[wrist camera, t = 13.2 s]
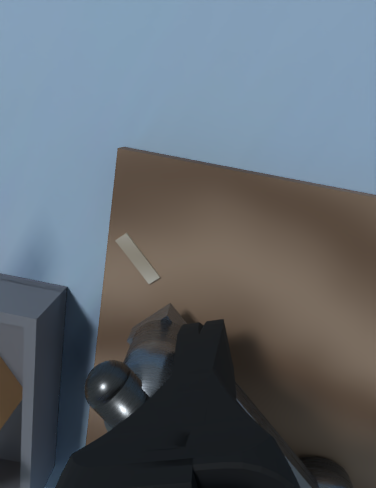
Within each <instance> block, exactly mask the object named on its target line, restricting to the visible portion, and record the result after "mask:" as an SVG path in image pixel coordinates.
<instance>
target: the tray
mask: <svg viewBox="0 0 376 488" xmlns="http://www.w3.org/2000/svg"><path fill="white" fill-rule="evenodd" d="M66 294H67V287H65V286H60V285H55V284H50V283H45V282H40V281H35V280H30V279H25V278H20V277H15V276H10V275H5V274H0V357H1V358H2V359H3V361H4V362H5V364H6V365H7V366H8V368H9V369H10V371H11V372H12V373H13V375H14V376H15V378H16V379H17V380H18V382H19V383H20V385H21V386H22V387H23V391H22V400H21V402H20V403H19V404H18V406H17V407H16V409H15V410H14V411H13V413H12V414H11V416H10V417H9V418H8V420H7V421H6V423H5V424H4V425H3V427H2V428H1V430H0V488H44V486H45V484H46V482H47V480H48V478H49V476H50V474H51V472H52V470H53V468H54V465H55V452H56V437H57V423H58V409H59V394H60V380H61V366H62V351H63V337H64V323H65V308H66Z"/></svg>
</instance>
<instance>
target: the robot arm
mask: <svg viewBox="0 0 376 488" xmlns="http://www.w3.org/2000/svg"><path fill="white" fill-rule="evenodd" d="M55 488H300V486H299V483H298V481H297V479H296V477H295V475H294V473H293V471H292V469H291V467H290V465H289V463H288V461H287V459H286V458H285V456H284V454H283V452H282V451H281V449H280V447H279V446H278V444H277V442H276V440H275V439H274V437H273V436H271V435H270V434H269V433H268V432H267V431H265V430H264V429H263V428H262V427H261V426H260V425H259V424H258V423H257V422H256V421H255V420H254V419H253V418H252V417H251V416H250V415H249V414H248V413H247V412H246V411H245V410H244V409H243V407H242V406H241V405H240V404H239V403H238V402H237V400H236V385H235V375H234V367H233V362H232V357H231V352H230V347H229V343H228V338H227V333H226V328H225V323H224V319H219V320H212V321H206V323H205V324H204V325H203V324H201V323H200V322H198V323H191V324H184V325H182V326H181V328H180V330H179V332H178V334H177V340H176V347H175V355H174V362H173V369H172V373H171V376H170V377H169V378H168V380H167V381H166V382H165V383H164V384H163V385H162V386H161V387H160V388H159V389H158V391H157V392H156V393H155V394H154V395H152V396H151V397H150V398H149V399H148V400H147V401H146V402H145V403H144V404H143V405H141V406H140V407H139V408H138V409H137V410H136V411H135V412H134V413H132V414H131V415H130V416H129V417H127V418H126V419H125V420H123V421H122V422H121V423H119V424H118V425H117V426H115V427H114V428H113V429H111V430H110V431H108V432H107V433H105V434H104V435H103V436H101V437H99V438H98V439H96V440H95V441H93V442H91V443H90V444H88V445H87V446H85V447H83V448H82V449H80V450H79V451H77V452H75V453H73V454H72V455H71V457H70V459H69V461H68V462H67V464H66V466H65V468H64V470H63V472H62V474H61V476H60V478H59V481H58V483H57V485H56V487H55Z"/></svg>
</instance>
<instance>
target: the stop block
mask: <svg viewBox="0 0 376 488" xmlns="http://www.w3.org/2000/svg"><path fill="white" fill-rule="evenodd" d="M22 391H23V387H22V386H21V385H20V383H19V382H18V380H17V379H16V378H15V376H14V375H13V373H12V372H11V371H10V369H9V368H8V366H7V365H6V364H5V362H4V361H3V359H2V358H1V357H0V430H1V428H2V427H3V425H4V424H5V423H6V421H7V420H8V418H9V417H10V416H11V414H12V413H13V411H14V410H15V409H16V407H17V406H18V404H19V403H20V402H21V400H22Z"/></svg>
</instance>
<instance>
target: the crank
mask: <svg viewBox="0 0 376 488" xmlns="http://www.w3.org/2000/svg"><path fill="white" fill-rule="evenodd" d="M184 324H188V323H187V322H186V321H185V320H184V319H183V317H182V316H181V315H180V314H179V313H178V311H177V310H176V309H175V308H174V307H173V305H172V304H171V303H169V304H168V305H166V306H165V307H163V308H162V309H160V310H158V311H157V312H155V313H154V314H152V315H151V316H149V317H148V318H146V319H145V320H143V321H141V322H140V323H138V324H137V325H135V326H134V327H133V328H132V330H131V332H130V335H129V337H128V339H127V342H128V343H129V344H130V347H129V349H128V352H127V354H126V357H125V359H124V362H120V361H117V360H109V361H104V362H102V363H100V364H98V365H97V366H95V367H94V368H93V369H92V370H91V372H90V373H89V375H88V377H87V379H86V383H85V396H86V399H87V402H88V403H89V405H90V406H91V407H92V409H93V410H94V411H95V412H96V413H97V414H98V415H99V416H100V417H101V418H102V419H103V420H104V424H105V427H106V429H107V432H108V431H110V430H111V429H113V428H114V427H115V426H117V425H118V424H119V423H121V422H122V421H123V420H125V419H126V418H127V417H129V416H130V415H131V414H132V413H134V412H135V411H136V410H137V409H138V408H139V407H140V406H141V405H143V404H144V403H145V402H146V401H147V400H148V399H149V398H150V397H151V396H152V395H154V394H155V393H156V392H157V391H158V389H159V388H160V387H161V386H162V385H163V384H164V383H165V382H166V381H167V380H168V378H169V377H170V376H171V373H172V369H173V362H174V355H175V347H176V340H177V334H178V332H179V330H180V328H181V326H182V325H184ZM235 385H236V400H237V402H238V403H239V404H240V405H241V406H242V407H243V409H244V410H245V411H246V412H247V413H248V414H249V415H250V416H251V417H252V418H253V419H254V420H255V421H256V422H257V423H258V424H259V425H260V426H261V427H262V428H263V429H264V430H265V431H267V432H268V433H269V434H270V435H271V436H273V437H274V439H275V440H276V442H277V444H278V446H279V447H280V449H281V451H282V452H283V454H284V456H285V458H286V459H287V461H288V463H289V465H290V467H291V469H292V471H293V473H294V475H295V477H296V479H297V481H298V483H299V486H300V488H353V485H352V483H351V480H350V477H349V475H348V473H347V472H346V471H345V469H344V468H343V467H341V466H340V465H339V464H337V463H336V462H333V461H331V460H329V459H325V458H321V457H302V458H299V457H298V456H297V455H296V454H295V453H294V451H293V450H292V449H291V448H290V447H289V445H288V444H287V443H286V442H285V441H284V439H283V438H282V437H281V436H280V435H279V433H278V432H277V431H276V430H275V428H274V427H273V426H272V425H271V424H270V422H269V421H268V420H267V419H266V418H265V416H264V415H263V414H262V413H261V412H260V410H259V409H258V408H257V407H256V406H255V404H254V403H253V402H252V401H251V400H250V398H249V397H248V396H247V395H246V393H245V392H244V391H243V390H242V389H241V387H240V386H239V385H238V384H237V383H236V381H235Z"/></svg>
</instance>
